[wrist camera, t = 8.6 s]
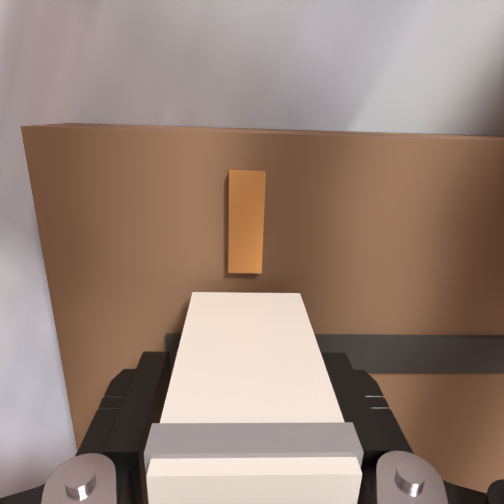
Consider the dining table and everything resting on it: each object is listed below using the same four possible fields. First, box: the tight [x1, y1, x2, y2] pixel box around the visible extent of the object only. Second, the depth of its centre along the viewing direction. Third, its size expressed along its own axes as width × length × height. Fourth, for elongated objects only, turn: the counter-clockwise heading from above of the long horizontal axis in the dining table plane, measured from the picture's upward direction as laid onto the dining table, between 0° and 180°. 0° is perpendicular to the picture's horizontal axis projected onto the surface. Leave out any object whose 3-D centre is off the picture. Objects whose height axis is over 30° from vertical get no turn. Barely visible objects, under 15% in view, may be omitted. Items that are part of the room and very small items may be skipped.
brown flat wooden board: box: [21, 123, 504, 493], centre depth 14 cm, size 28×14×3 cm, turn 88°
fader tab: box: [144, 292, 364, 504], centre depth 9 cm, size 3×5×6 cm, turn 178°
